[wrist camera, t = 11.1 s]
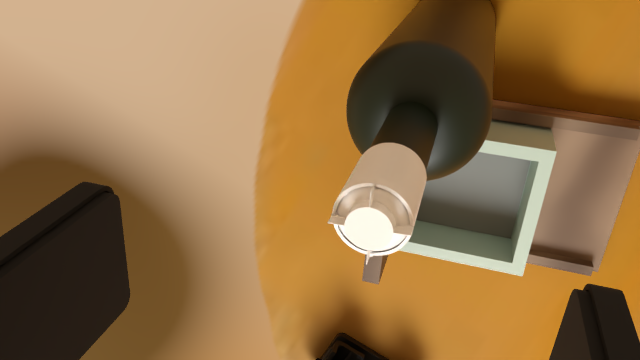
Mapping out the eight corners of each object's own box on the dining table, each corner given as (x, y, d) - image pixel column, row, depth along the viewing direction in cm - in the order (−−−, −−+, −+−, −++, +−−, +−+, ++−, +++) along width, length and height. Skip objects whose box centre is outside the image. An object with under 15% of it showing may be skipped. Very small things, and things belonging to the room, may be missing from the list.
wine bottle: (501, -17, 38) (503, 135, 12) (490, 67, 41) (471, 340, 15) (416, -20, 40) (258, 110, 14) (410, 61, 42) (265, 301, 16)
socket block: (551, 128, 40) (556, 151, 36) (520, 244, 45) (522, 276, 41) (414, 107, 42) (405, 127, 38) (397, 220, 47) (388, 247, 43)
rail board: (643, 121, 40) (679, 173, 32) (595, 263, 45) (615, 337, 37) (402, 86, 43) (381, 124, 35) (384, 221, 49) (362, 280, 41)
